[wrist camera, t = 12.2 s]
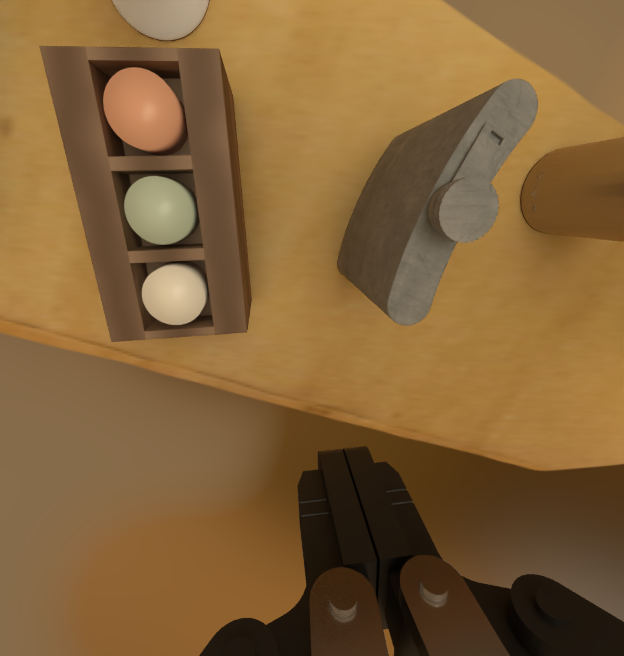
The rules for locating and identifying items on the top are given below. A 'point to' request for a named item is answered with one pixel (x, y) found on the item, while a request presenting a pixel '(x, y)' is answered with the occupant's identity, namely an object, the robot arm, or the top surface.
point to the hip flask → (432, 199)
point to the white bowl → (163, 16)
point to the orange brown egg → (145, 111)
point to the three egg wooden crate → (184, 166)
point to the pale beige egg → (176, 292)
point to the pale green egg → (161, 210)
